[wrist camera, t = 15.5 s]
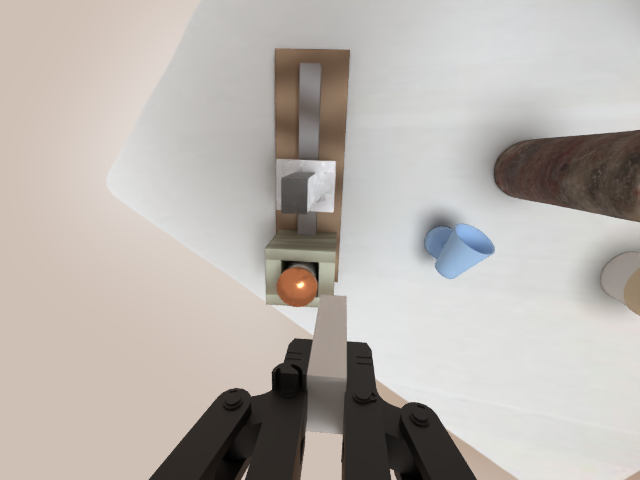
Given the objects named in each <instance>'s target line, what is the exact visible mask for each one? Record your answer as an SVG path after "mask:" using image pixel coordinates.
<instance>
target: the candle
mask: <svg viewBox="0 0 640 480" xmlns="http://www.w3.org/2000/svg"><path fill="white" fill-rule="evenodd" d="M495 179H496V183H497V184H498V186H499V187H500V188H501V189H502V190H503V191H504V192H505V193H507V194H508V195H509V196H511V197H514V198H519V199H524V200H529V201H535V202H540V203H546V204H552V205H557V206H561V207H566V208H572V209H577V210H582V211H586V212H591V213H596V214H601V215H606V216H611V217H615V218H620V219H625V220H630V221H636V222H640V130H635V131H626V132H617V133H604V134H592V135H580V136H567V137H555V138H543V139H534V140H527V141H523V142H520V143H518V144H516V145H514V146H512V147H511V148H510V149H508V150H507V151H506V152H505V153H503V154H502V155H501V156H500V157H499V159H498V161H497V163H496V166H495Z"/></svg>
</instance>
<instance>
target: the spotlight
mask: <svg viewBox="0 0 640 480" xmlns="http://www.w3.org/2000/svg"><path fill="white" fill-rule="evenodd" d="M425 247H426V249H427V251H428V252H429V253H430V254H431V255H432V256H433V257H434V258H436V259H437V261H436V263H435V268H436V270H437V271H438V272H439V273H440V274H441V275H442V276H443V277H445V278H448V279H454V278H455V277H457V276H458V275H460V274H462V273H463V272H465V271H466V270H468V269H469V268H471V267H473V266H474V265H476V264H477V263H479V262H481V261H482V260H484V259H485V258H487V257H488V256H490V255H492V254H493V253H494V251H495V248H494V245H493V243H492V242H491V240H490V239H489V238H488V237H487V236H486V235H485V234H484V233H482V232H481V231H480V230H478V229H476V228H475V227H473V226H470V225H467V224H458V225H456V227H455V229H454V230H452V229H451V228H449V227H445V226H439V227H436V228H434V229H432V230H431V231H430V232H429V233H428V234H427V236H426V238H425Z"/></svg>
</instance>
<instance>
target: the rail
mask: <svg viewBox="0 0 640 480" xmlns="http://www.w3.org/2000/svg"><path fill="white" fill-rule="evenodd" d="M349 58H350V50H329V49H275V105H276V159H300V160H327V161H336V175H335V196H334V212H313V211H309V212H308V214H307V215H306V214H284V213H281V210H276V235H275V237H274V238H273V239H272V240H271V242H270V243H269V244H268V245H267V247H266V248H265V274H266V304H269V305H286V306H290V305H288V304H286V303H284V302H283V301H282V300H281V299H280V297H279V295H278V293H277V288H276V287H277V282H278V279H279V277H280V275H281V274H282V273H283V272H284V271H285V270H286V269H287V268H288V266H289V264H290V262H291V261H305V262H318V269H317V274H316V280H317V284H318V288H317V294H316V296H315V298H314V300H313V301H312V302H311V303H309V304H308V305H305V306H302V307H319V302H320V296H321V295H334V282H338V263H339V244H340V226H341V207H342V189H343V170H344V151H345V133H346V114H347V95H348V77H349Z"/></svg>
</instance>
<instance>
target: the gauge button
mask: <svg viewBox="0 0 640 480" xmlns="http://www.w3.org/2000/svg"><path fill="white" fill-rule="evenodd" d="M317 269H318V262H305V261H291V262H290V264H289V266H288V268H287V269H286V270H285V271H284V272H283V273H282V274H281V275H280V277H279V279H278V282H277V287H276V288H277V293H278V295H279V297H280V299H281V300H282V301H283V302H284V303H286V304H288V305H290V306H294V307H302V306H305V305H308V304H309V303H311V302H312V301H313V300H314V298H315V296H316V294H317V288H318V284H317V280H316V274H317Z"/></svg>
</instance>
